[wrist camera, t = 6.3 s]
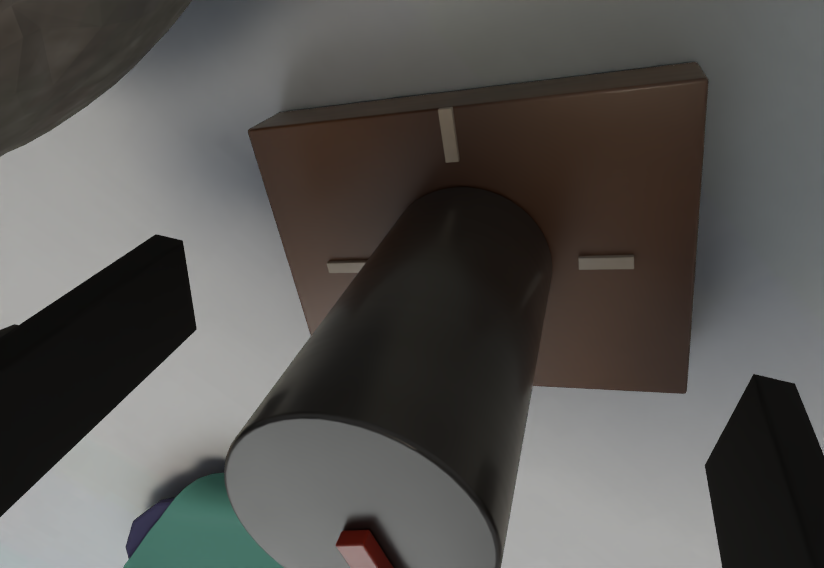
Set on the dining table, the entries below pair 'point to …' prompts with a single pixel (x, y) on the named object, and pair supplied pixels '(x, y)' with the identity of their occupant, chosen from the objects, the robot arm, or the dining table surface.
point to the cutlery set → (194, 532)
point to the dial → (405, 400)
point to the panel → (519, 203)
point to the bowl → (69, 56)
